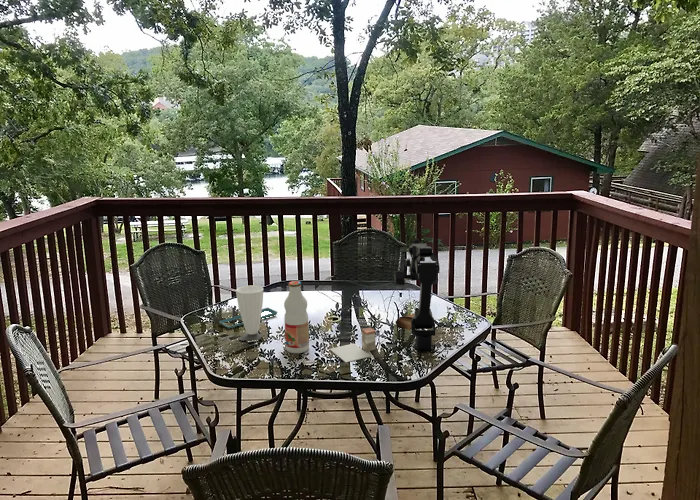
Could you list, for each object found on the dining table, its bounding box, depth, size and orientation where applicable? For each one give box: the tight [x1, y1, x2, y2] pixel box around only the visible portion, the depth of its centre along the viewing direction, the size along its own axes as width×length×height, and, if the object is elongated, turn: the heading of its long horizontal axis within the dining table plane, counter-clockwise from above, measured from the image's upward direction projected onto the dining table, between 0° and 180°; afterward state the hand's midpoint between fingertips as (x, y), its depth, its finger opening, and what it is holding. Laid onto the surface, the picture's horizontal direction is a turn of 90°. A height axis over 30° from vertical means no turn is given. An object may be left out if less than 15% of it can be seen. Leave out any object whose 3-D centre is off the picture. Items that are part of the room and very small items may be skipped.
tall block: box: [361, 327, 376, 352], centre depth 209 cm, size 4×4×8 cm
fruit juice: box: [283, 280, 310, 354], centre depth 207 cm, size 9×9×28 cm
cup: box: [235, 284, 264, 342], centre depth 220 cm, size 12×12×22 cm
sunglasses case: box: [395, 313, 436, 331], centre depth 237 cm, size 18×7×7 cm, turn 129°
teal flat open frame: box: [219, 307, 278, 330], centre depth 243 cm, size 26×9×2 cm, turn 130°
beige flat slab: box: [329, 343, 372, 364], centre depth 206 cm, size 14×11×1 cm
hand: (414, 289), depth 236 cm, fingers open, 9 cm apart
